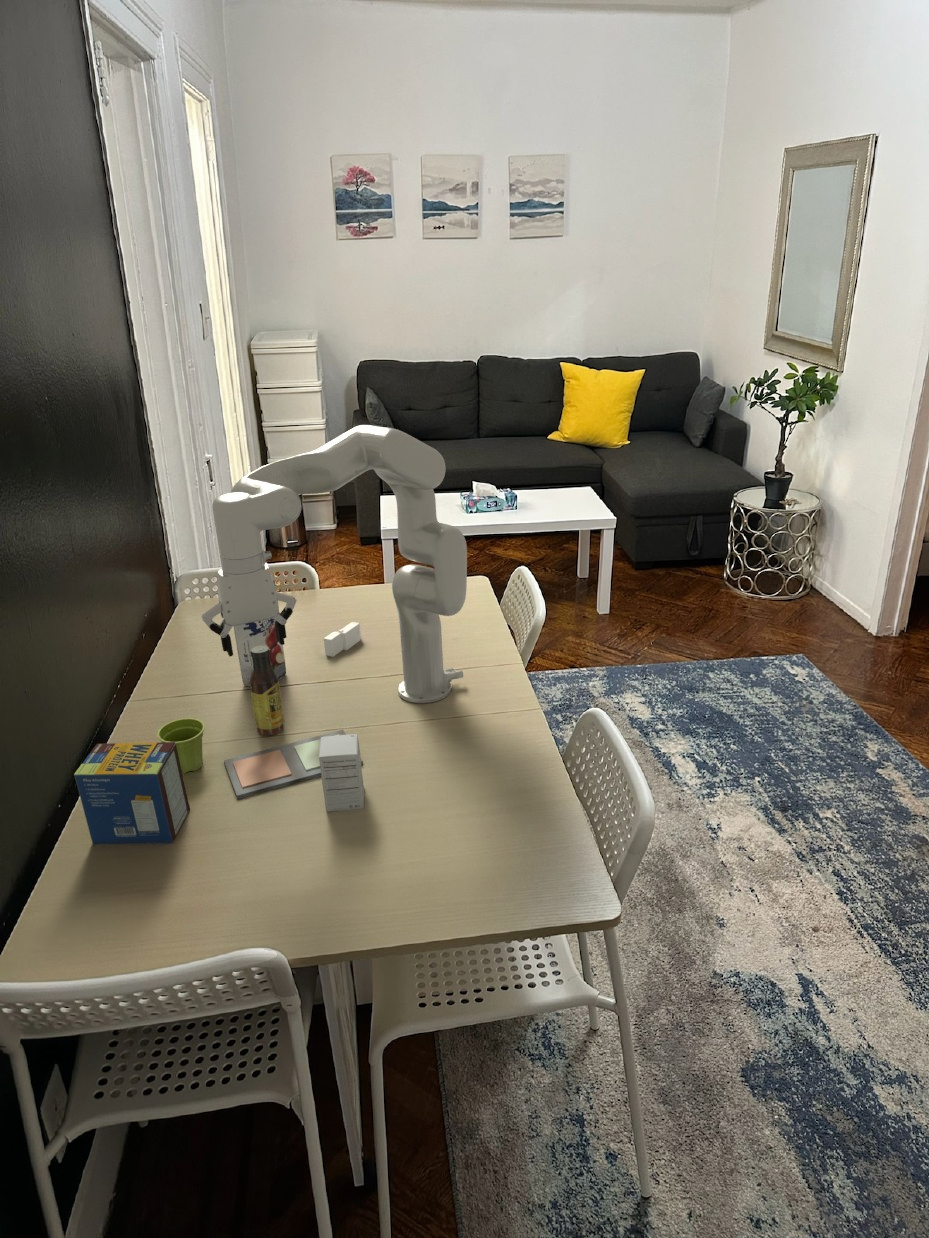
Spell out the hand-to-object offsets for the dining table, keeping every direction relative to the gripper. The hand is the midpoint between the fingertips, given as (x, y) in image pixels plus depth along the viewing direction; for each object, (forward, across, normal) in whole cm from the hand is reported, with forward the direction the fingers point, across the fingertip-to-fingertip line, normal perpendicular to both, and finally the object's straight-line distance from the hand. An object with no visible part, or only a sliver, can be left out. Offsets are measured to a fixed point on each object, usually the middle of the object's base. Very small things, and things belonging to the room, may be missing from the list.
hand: (255, 647), depth 166 cm
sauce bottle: (+31, -4, -21) cm, 38 cm away
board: (+31, -5, -5) cm, 31 cm away
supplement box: (+31, -11, +12) cm, 35 cm away
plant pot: (+31, +15, -16) cm, 38 cm away
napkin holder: (+31, -31, -53) cm, 69 cm away
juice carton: (+31, -9, -45) cm, 55 cm away
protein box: (+31, +26, +2) cm, 40 cm away
